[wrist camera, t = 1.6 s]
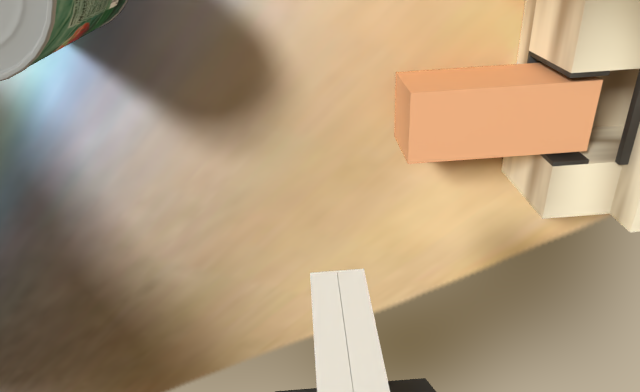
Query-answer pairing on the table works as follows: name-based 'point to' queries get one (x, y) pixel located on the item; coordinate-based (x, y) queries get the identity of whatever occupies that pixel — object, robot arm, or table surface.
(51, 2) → the canned tomato
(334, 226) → the table surface
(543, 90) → the peg
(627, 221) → the sleeve
